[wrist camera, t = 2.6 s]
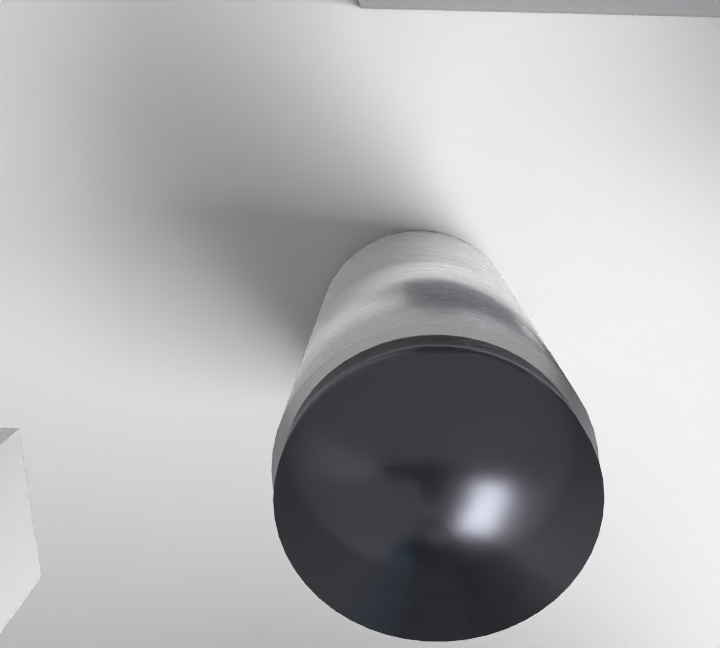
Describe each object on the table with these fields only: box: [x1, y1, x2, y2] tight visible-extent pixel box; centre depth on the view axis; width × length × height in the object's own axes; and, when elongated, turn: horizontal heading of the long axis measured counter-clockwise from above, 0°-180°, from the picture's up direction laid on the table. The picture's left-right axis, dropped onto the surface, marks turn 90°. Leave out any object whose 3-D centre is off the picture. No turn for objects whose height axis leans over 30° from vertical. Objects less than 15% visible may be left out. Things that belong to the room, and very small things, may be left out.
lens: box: [272, 231, 604, 641], centre depth 16 cm, size 6×6×10 cm
